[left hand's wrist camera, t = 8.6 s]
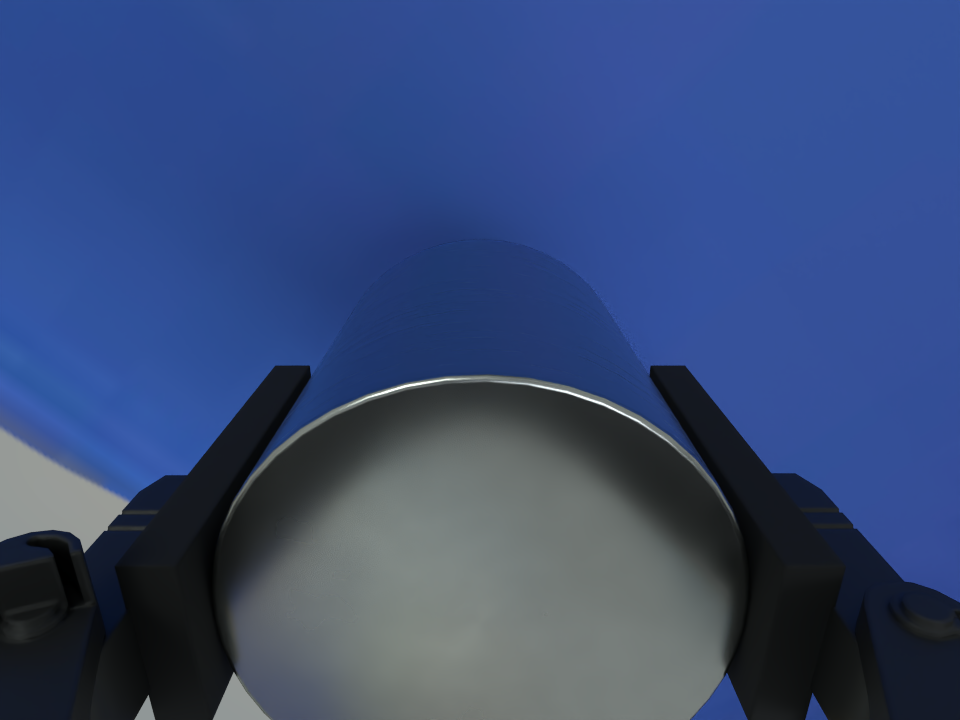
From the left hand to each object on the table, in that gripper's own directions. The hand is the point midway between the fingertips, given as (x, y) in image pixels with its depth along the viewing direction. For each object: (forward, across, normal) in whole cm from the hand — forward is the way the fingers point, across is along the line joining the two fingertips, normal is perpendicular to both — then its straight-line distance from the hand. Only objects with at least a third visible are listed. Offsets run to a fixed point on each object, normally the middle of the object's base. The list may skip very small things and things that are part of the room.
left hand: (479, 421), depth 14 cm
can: (+3, 0, 0) cm, 3 cm away
